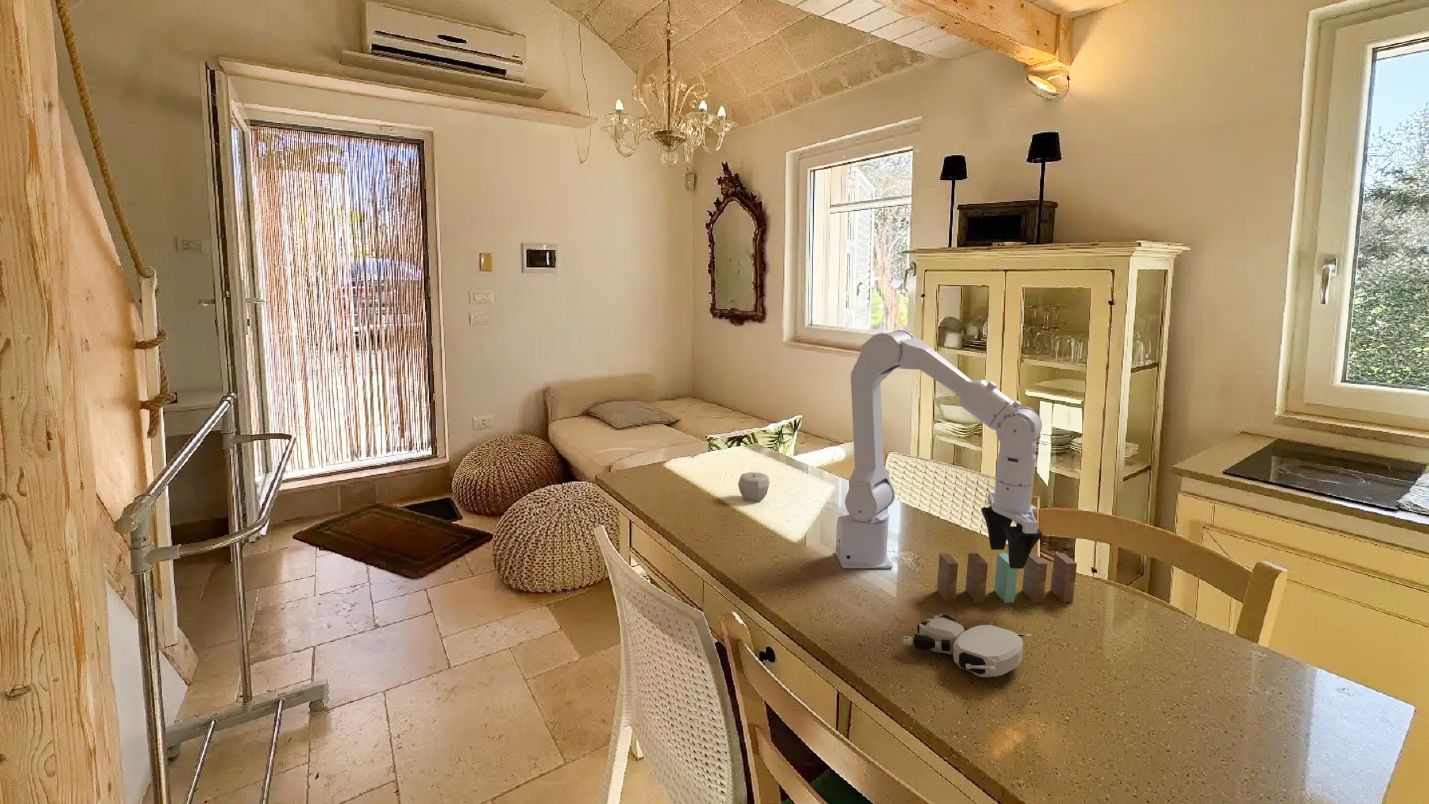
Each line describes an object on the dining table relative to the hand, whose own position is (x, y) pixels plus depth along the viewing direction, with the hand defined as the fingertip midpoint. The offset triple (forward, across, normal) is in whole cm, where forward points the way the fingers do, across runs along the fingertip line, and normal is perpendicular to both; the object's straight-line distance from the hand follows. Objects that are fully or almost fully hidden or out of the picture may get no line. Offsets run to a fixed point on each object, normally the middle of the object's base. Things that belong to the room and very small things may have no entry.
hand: (1006, 558), depth 118 cm
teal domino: (+7, 0, 0) cm, 7 cm away
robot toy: (+7, -19, +14) cm, 25 cm away
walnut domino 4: (+7, 0, -10) cm, 12 cm away
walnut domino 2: (+7, 0, +5) cm, 9 cm away
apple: (+8, +51, +39) cm, 65 cm away
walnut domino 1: (+7, 0, +10) cm, 12 cm away
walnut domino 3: (+7, 0, -5) cm, 9 cm away
